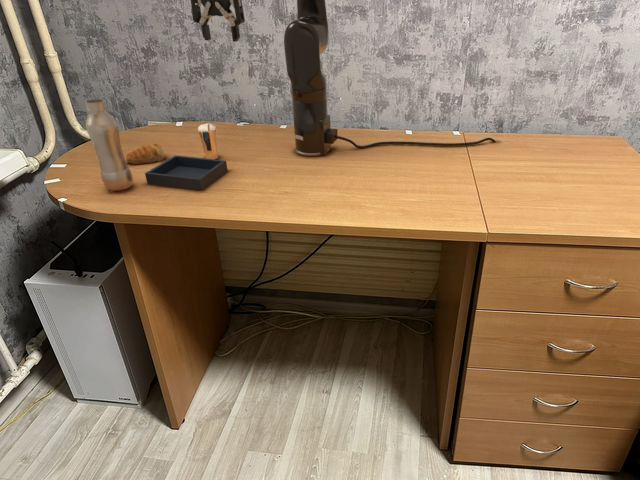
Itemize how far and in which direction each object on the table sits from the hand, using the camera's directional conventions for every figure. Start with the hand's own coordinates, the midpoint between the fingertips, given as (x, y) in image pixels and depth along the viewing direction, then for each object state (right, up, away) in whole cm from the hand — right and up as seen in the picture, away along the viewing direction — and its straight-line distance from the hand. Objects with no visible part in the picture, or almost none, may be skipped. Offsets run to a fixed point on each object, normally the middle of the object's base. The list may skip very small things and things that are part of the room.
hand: (221, 40), depth 133 cm
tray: (-4, -41, -14) cm, 43 cm away
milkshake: (-2, -34, -3) cm, 34 cm away
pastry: (-18, -34, -4) cm, 39 cm away
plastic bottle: (-18, -44, -19) cm, 52 cm away
